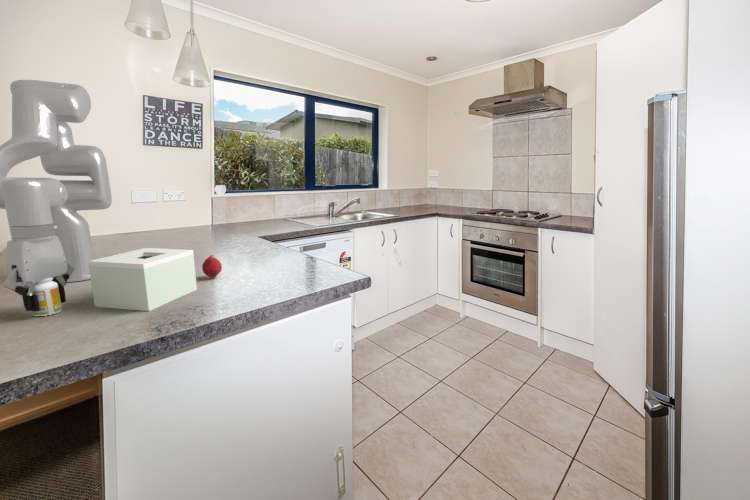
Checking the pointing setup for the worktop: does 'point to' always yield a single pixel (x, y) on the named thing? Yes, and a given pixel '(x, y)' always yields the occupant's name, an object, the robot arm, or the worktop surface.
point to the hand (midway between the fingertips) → (46, 305)
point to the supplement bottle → (47, 297)
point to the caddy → (142, 278)
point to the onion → (211, 267)
